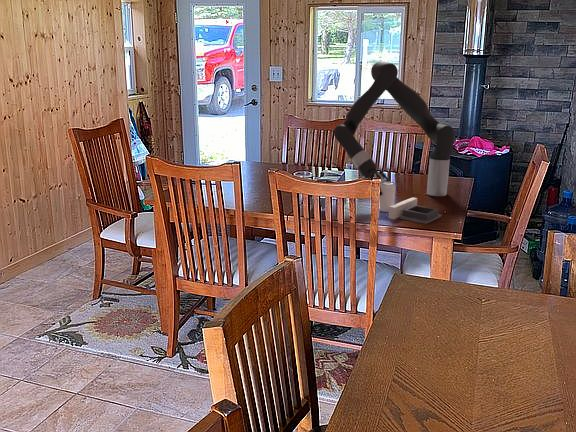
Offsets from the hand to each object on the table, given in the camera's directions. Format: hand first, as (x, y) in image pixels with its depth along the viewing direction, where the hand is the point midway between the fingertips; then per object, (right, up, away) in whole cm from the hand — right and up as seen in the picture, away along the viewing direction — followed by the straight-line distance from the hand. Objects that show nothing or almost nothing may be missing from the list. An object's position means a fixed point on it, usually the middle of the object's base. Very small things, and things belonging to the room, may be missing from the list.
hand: (385, 193), depth 244 cm
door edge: (+7, -9, -3) cm, 11 cm away
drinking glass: (-27, -7, +2) cm, 28 cm away
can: (0, -7, +2) cm, 7 cm away
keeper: (+13, -10, -8) cm, 18 cm away
